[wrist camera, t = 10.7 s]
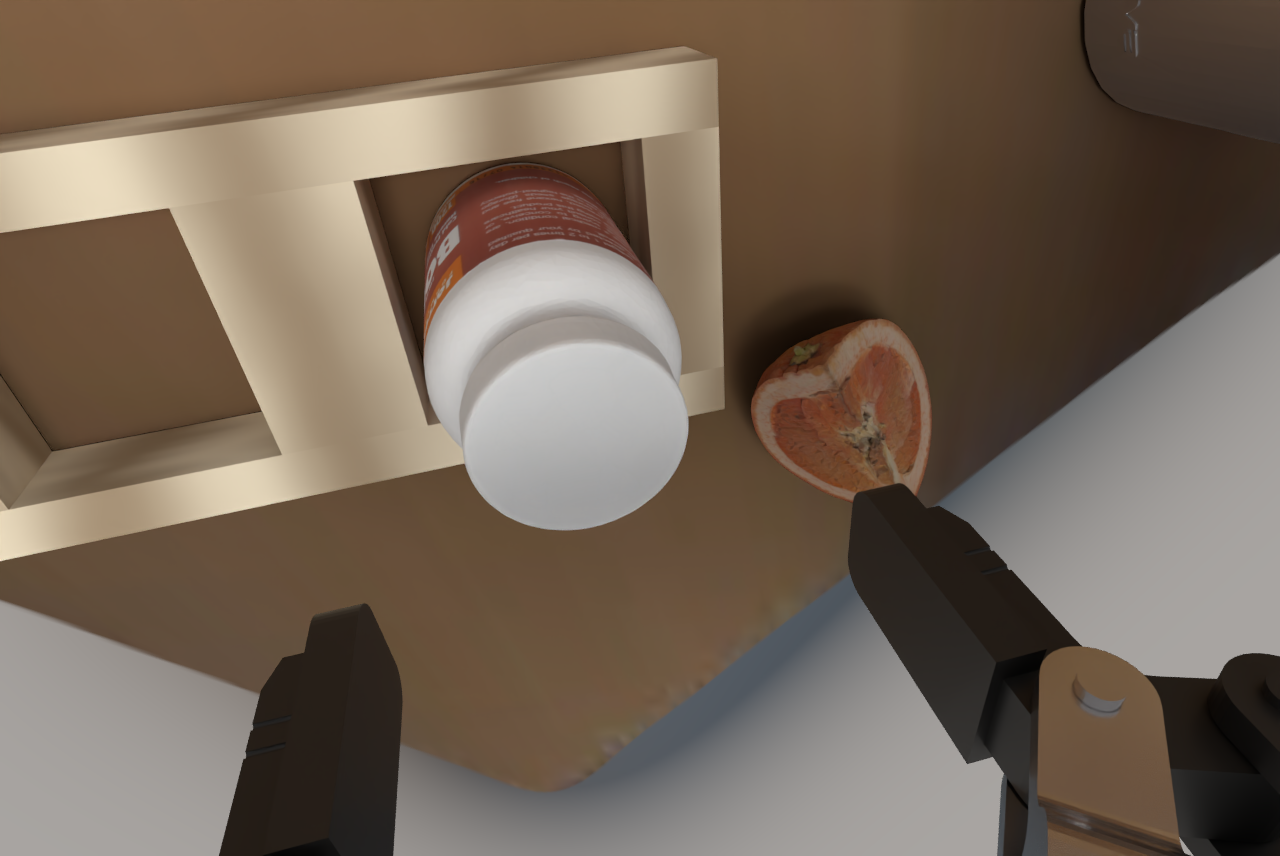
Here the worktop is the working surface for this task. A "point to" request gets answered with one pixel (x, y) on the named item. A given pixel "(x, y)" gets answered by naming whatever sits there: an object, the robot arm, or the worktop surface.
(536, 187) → the pill bottle
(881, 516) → the robot arm
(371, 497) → the worktop surface
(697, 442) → the worktop surface
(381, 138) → the rail
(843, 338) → the fruit slice
